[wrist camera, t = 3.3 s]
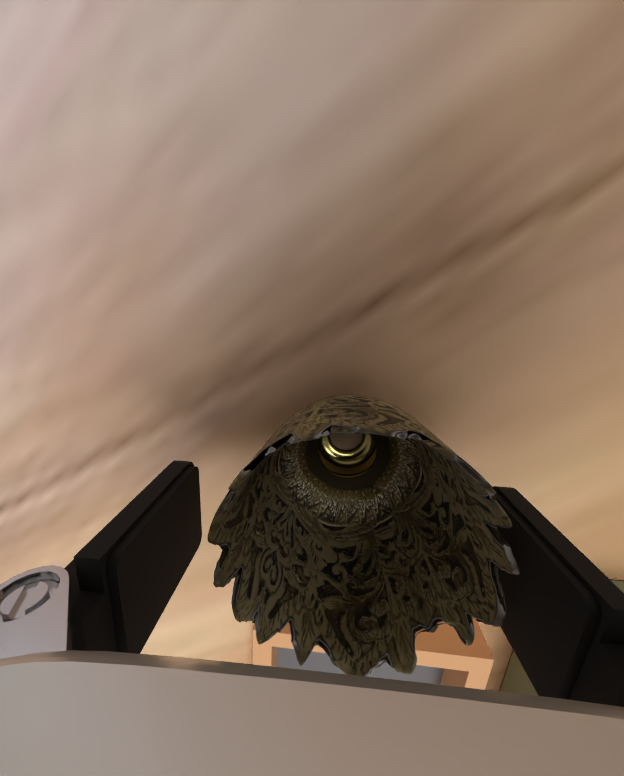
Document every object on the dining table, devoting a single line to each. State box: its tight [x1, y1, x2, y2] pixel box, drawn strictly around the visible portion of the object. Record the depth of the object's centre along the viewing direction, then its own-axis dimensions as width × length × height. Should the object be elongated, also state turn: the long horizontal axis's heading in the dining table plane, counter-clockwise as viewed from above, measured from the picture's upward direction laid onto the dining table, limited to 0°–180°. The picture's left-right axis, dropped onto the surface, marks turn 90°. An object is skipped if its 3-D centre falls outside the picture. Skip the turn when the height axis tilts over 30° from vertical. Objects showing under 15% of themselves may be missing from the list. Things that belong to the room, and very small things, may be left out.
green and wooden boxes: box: [253, 580, 624, 696], centre depth 15 cm, size 18×27×7 cm, turn 87°
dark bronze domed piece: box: [208, 395, 520, 677], centre depth 11 cm, size 8×7×8 cm
